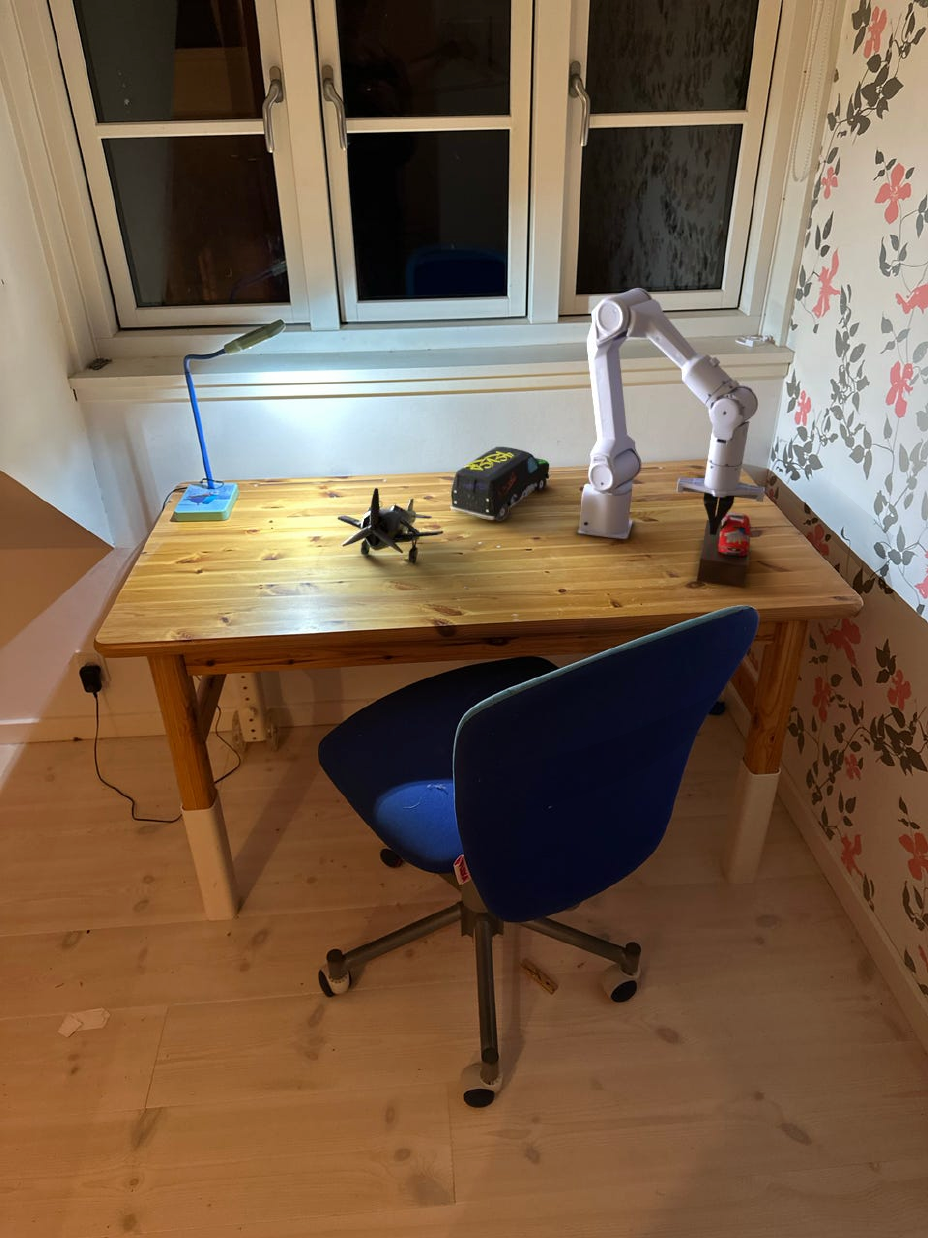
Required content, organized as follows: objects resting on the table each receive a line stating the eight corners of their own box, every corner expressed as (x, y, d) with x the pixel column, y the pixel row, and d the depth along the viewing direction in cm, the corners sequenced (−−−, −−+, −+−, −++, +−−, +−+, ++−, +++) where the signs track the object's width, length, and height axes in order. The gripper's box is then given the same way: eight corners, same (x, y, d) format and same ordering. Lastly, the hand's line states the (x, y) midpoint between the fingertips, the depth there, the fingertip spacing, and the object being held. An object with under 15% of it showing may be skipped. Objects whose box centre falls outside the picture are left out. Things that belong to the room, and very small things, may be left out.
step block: (696, 581, 147) (700, 558, 144) (703, 541, 159) (706, 519, 157) (743, 587, 145) (748, 564, 142) (747, 546, 157) (751, 525, 155)
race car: (747, 561, 143) (751, 540, 141) (715, 557, 145) (718, 536, 143) (751, 528, 154) (754, 508, 152) (720, 524, 155) (724, 505, 153)
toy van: (551, 485, 183) (553, 441, 177) (493, 528, 165) (493, 481, 160) (509, 475, 187) (509, 432, 182) (448, 516, 170) (447, 470, 165)
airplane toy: (323, 566, 153) (314, 489, 144) (368, 522, 168) (363, 450, 160) (424, 584, 147) (421, 504, 139) (462, 537, 162) (461, 463, 154)
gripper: (679, 464, 141) (669, 536, 148) (769, 473, 137) (754, 547, 144) (683, 449, 147) (673, 520, 154) (769, 458, 143) (755, 530, 150)
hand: (713, 532), depth 149 cm, fingers closed
